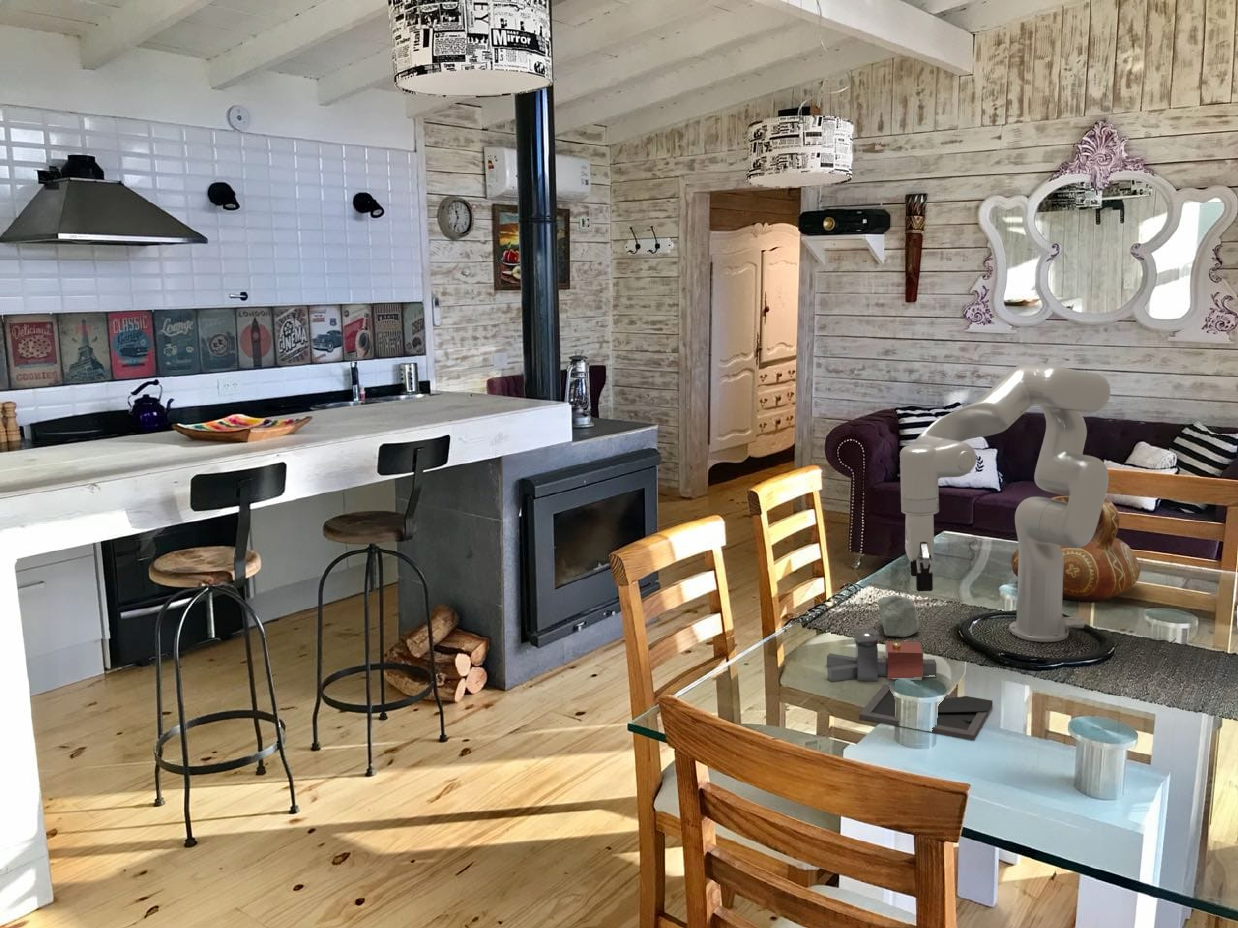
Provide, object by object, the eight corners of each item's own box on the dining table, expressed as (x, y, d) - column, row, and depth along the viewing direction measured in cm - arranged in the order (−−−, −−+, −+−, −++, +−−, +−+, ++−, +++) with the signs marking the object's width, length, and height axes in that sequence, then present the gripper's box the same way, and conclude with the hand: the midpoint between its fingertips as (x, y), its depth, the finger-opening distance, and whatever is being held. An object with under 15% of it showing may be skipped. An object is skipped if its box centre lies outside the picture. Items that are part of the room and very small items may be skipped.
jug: (989, 592, 269) (992, 497, 264) (1045, 567, 288) (1048, 478, 284) (1106, 617, 247) (1111, 515, 242) (1158, 589, 266) (1164, 493, 261)
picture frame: (992, 710, 200) (884, 691, 211) (992, 700, 200) (884, 682, 211) (973, 743, 187) (859, 721, 197) (973, 733, 186) (859, 711, 197)
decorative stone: (910, 644, 234) (929, 605, 236) (865, 622, 238) (884, 584, 240) (909, 653, 246) (927, 616, 248) (866, 632, 250) (885, 595, 252)
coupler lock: (919, 668, 220) (919, 638, 219) (922, 680, 214) (923, 649, 213) (885, 668, 221) (885, 637, 220) (887, 679, 215) (887, 648, 214)
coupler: (932, 666, 221) (933, 625, 220) (938, 684, 212) (939, 642, 210) (826, 663, 225) (826, 623, 223) (827, 681, 215) (827, 640, 214)
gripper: (896, 495, 225) (898, 570, 228) (905, 515, 208) (907, 597, 212) (932, 493, 224) (934, 569, 227) (944, 514, 207) (946, 596, 210)
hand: (921, 583), depth 219 cm, fingers open, 9 cm apart
